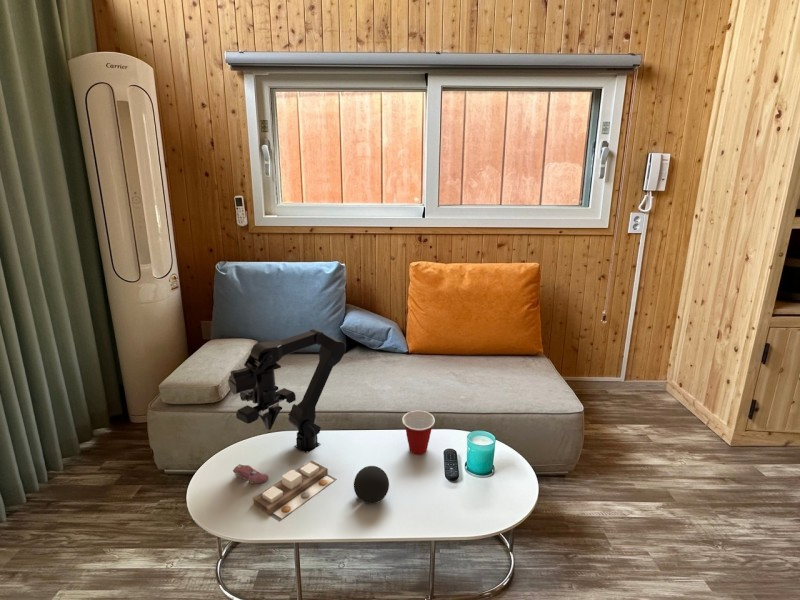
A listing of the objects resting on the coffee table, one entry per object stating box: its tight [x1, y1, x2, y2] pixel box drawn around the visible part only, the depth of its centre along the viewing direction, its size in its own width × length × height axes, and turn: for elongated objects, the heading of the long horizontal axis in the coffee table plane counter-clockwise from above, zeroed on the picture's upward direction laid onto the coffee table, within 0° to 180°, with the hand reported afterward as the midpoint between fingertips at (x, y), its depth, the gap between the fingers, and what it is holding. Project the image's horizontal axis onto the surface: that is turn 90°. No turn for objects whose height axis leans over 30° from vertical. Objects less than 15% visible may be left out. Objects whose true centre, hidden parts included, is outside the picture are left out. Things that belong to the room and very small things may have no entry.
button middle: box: [281, 469, 302, 490], centre depth 135 cm, size 4×4×3 cm
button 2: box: [299, 462, 319, 478], centre depth 141 cm, size 4×4×3 cm
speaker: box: [353, 465, 390, 505], centre depth 132 cm, size 10×10×10 cm
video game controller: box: [232, 464, 269, 485], centre depth 139 cm, size 10×5×7 cm, turn 63°
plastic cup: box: [402, 410, 436, 456], centre depth 155 cm, size 11×11×12 cm
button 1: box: [261, 485, 283, 504], centre depth 130 cm, size 4×4×3 cm
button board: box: [252, 459, 338, 523], centre depth 135 cm, size 22×11×3 cm, turn 144°
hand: (268, 429), depth 146 cm, fingers closed
